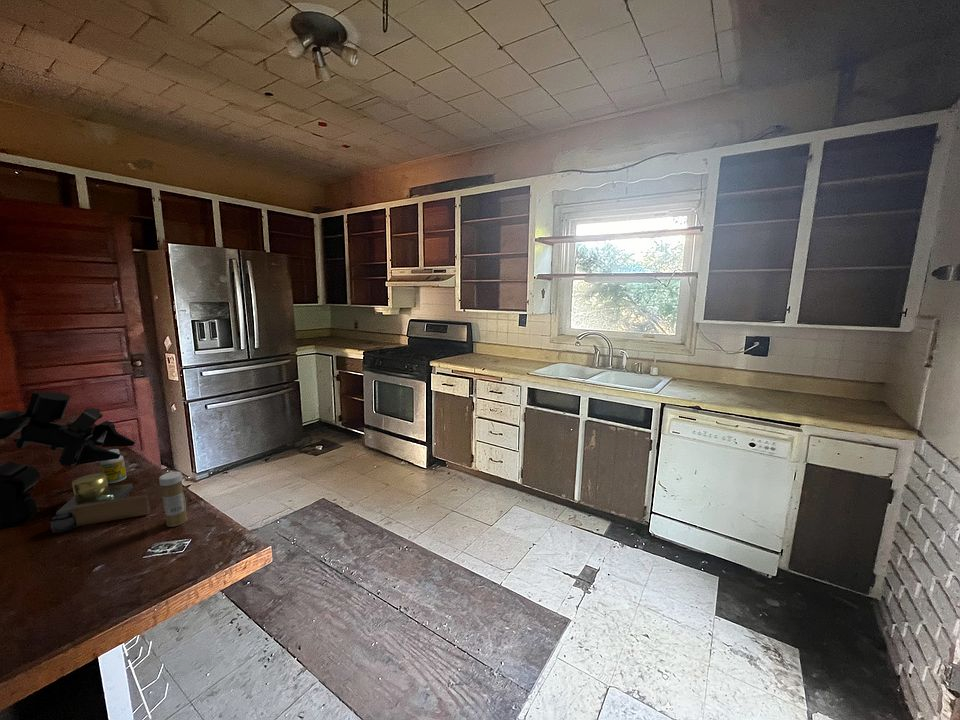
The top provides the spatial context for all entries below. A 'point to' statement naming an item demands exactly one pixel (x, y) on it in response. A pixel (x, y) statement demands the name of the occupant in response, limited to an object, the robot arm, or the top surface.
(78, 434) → the robot arm
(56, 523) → the brown bar with knob
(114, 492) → the plate
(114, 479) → the supplement bottle
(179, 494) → the sprinkles bottle
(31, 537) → the top surface
